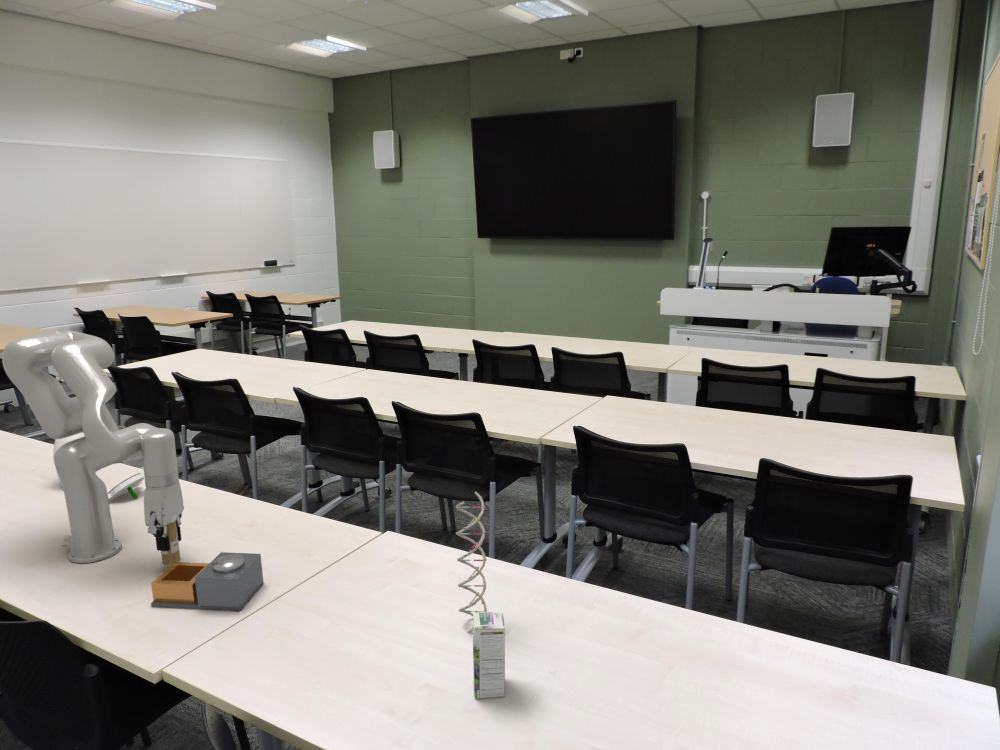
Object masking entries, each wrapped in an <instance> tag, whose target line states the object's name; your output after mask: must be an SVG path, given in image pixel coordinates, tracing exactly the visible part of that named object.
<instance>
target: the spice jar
mask: <svg viewBox="0 0 1000 750" xmlns="http://www.w3.org/2000/svg"><path fill="white" fill-rule="evenodd" d="M176 519H177V517H176V514H175V515H174V516H173V518H172V521H171V522H170V523H168V524H167V536H169V544H170V550H169V551H160V554H161V555H160V556H161V565H163V566H165V567H170V566H171V565H172V564H173V563H175V562H182V561H181V560H182V559H181V553H180V541H178V533H177V525H176ZM158 524H160V523H158ZM158 530H161V531H162V527H159V528H158Z"/></svg>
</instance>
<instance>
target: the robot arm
mask: <svg viewBox="0 0 1000 750" xmlns="http://www.w3.org/2000/svg"><path fill="white" fill-rule="evenodd" d="M1 361H2V366H3V370H4V372H5V374H6V376H7V378H8V379H9V380H10V381H11V382H12V384H13V385H14V386H15V387H16V388H17V389H18V390H19V391H20V393H21V395H22V396H23V397H24V399H25V400H26V403H27V404H28V406H29V408H30V409H31V411H32V413H33V415H34V417H35V419H36V421H38V424H39V425H40V427H41V429H42V430H43V432H44V434H46V436H47V437H49V438H50V439H52V440H55V439H63V438H66V437H70V436H73V435H76V434H79V433H82V432H83V433H84V437H81V438H78V439H75V440H73V441H70V442H68V443H66V444H64V445H62V446H61V447H60V448H59V449H58V450H57V451H56V453H55V455H54V458H53V464H54V467H55V470H56V469H57V471H56V473H57V472H58V474H59V476H60V479H61V482H62V485H63V488H62V489H63V493H64V499H65V503H66V504H65V505H66V511H67V516H68V522H69V527H70V533H71V534H70V535H69V534H68V535H64V536H63V538H62V541H61V544H60V545H61V547H69V549H70V550H69V551H68V553H67V557H68V560H69V561H70V562H72V563H75V564H76V563H77V564H89V563H94V562H99V561H102V560H105V559H108V558H110V557H112V556H115V555H116V554H117V553H118V552H120V551H121V549H122V548H123V542H122V541H121V540H120V539H118V538H116V537H115V533H114V527H113V521H112V520H113V519H112V515H111V514H112V513H111V508H110V502H109V500H108V494H107V493H108V490H107V489H108V488H107V485H106V484H105V482H104V481H103V480H102V478H100V477H99V476H98V475H97V473H96V472H99V471H100V470H102V469H104V468H107V467H109V466H112V465H113V464H115V465H116V464H121V463H124V462H126V461H128V460H130V459H133V458H135V457H137V456H142V465H143V466H142V467H143V468H142V469H143V475H144V476H143V477H144V483H145V488H144V495H143V513H144V514H143V515H144V523H145V526H146V527H147V531H146V532H147V533H148V534H151V535H152V536H153V538H155V543H156V544H155V545H156V550H157V551H159V552H161V551H169V550H170V544H169V536H167V524H168V523H170V522H171V521H172V518H173V516H174V515H175V514H176V517H177V519H176V525H177V533H178V541H179V542H181V541H182V534H181V533H182V532H181V525H182V521H181V519H182V516H183V512H184V510H185V506H184V497H183V492H182V487H181V484H180V478H179V477H180V476H179V470H178V469H179V467H178V461H177V460H178V458H177V451H176V441H175V434H174V432H173V430H171V429H169V428H164V427H163V428H162V427H160V428H159V427H157V426H154V425H152V424H149V423H145V422H141V423H135V424H133V425H130V426H128V427H125V428H121V429H120V428H119V427H118V426H117V424H116V421H115V420H114V418H113V416H112V414H111V413H110V410H109V408H108V407H107V405H106V403H108V401H110V400H111V399H112V398H113V396H115V394H116V391H117V386H116V385H115V383H114V382H113V381H112V379H111V378H110V377H109V375H107V373H106V372H105V371H104V369H107V368H109V367H111V365H112V364H113V363H114V361H115V353H114V350H113V348H112V347H111V344H109V343H108V341H106V340H105V339H103V338H101V337H98V336H95V335H92V334H87V333H83V332H79V331H75V330H71V329H61V330H55V331H51V332H50V331H49V332H44V333H38V334H32V335H27V336H23V337H19V338H17V339H14V340H12V341H11V342H9V343H7V344H6V345H5V347H4V348H3V350H2V356H1ZM52 366H53V368H54V370H55V371H56V372H57V373H58V374H59V376H60V377H61V378H62V380H63V381H64V382H65V384H66V385H67V386H68V388H69V389H70V390H71V392H72V393H73V394H74V395H75V396H73V397H70V396H69V395H68V394H67V393H66V391H65V389H64V388H63V385H62V384H61V383H60V381H59V380H58V379H56V378H55V377H54V376H53V375H51V374H50V373H47V372H45V371H44V370H43V369H42V368H47V367H52ZM158 523H160V524H158ZM159 527H162V531H161V530H158V528H159Z"/></svg>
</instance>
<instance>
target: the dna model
mask: <svg viewBox="0 0 1000 750" xmlns="http://www.w3.org/2000/svg"><path fill="white" fill-rule="evenodd" d="M474 494H475V495H476V497H477V498H478V500H479V502H480V504H481V506H472V509H481V510H480V513H479V514H478V516H475V515H474V514H472V513H471V512H469V511H467V510H465V509H470V506H463V505H465V501H462V502H460V503H458V504H456V506H455V509H456V511H459V512H461V513H463V514H465V515H468V516H469V517H471V518H472V520H471V521H470V522H469V523H468V524H467V525H466V526H463V528H462V529H460V530H459V531H457V532H456V531H455V534H456V536H458V537H460V538H462V539H465V540H466V541H469V542H471V543H472V544H473V546H472V547H471V549H470V550H469V551H468V552H467V553H466V554H464V555H461V556H460V557H458V558H457V560H456V561H457V562H459V563H461V564H463V565H467V566H469V567H471V568H472V569H474V571H473V573H472V574H471V575H470V576H469V577H468V578H467V579H466V580H464V581H462V582H460V583H458V584H457V587H458V588H461V589H464V590H467V591H468V592H471V593H473V594H475V596H474V597H473V598H472V600H471V601H470V602H469V604H468V605H466V606H464V607H461V608H459V609H458V611H459V612H461V613H464V614H466V615H470V616H471V617H473V614H474V613H478V612H488V611H487V610H488V609H487V604H486V601H485V600H484V598H483V595H484V594H485V592H486V589H487V582H486V578H485V575H484V574H483V572H482V571H483V569H484V568H485V566H486V562H487V560H488V559H487V558H486V553H485V551H484V549H483V548H482V547H481V546H482V545H483V542H484V540H485V537H486V536H485V535H486V529H485V527H484V525H483V524H482V522H481V521H480V519H481V518H482V516H483V514H484V511H485V508H486V507H487V505H485V503H484V502H485V501H484V500H483V497H482V496H481V495H480V494H479V492H477V491H474ZM477 523H478V525H479V526H480V528H479V529H481V532H482V533H480V532H478V533H475V532H474V533H467V532H465V531H467V530H469V529H470V528H472V527H474V526H475V524H477ZM464 532H465V533H464ZM469 535H473V536H475V535H476V536H477V535H480V536H481V537H480V539H479V541H475V540H474V539H472V538H471V537H468V536H469ZM477 550H479V551H480V553H481V556H482V559H473V562H482V565H481V567H480V566H475V565H474V564H472V563H471V562H472V559H465V558H467V557H469V556H470V555H473V553H475V552H476V551H477ZM479 575H480V577H481V578H482V583H483V584H481V585H480V584H477V585H471V584H467V583H469V582H471V581H473V580H474V579H475V578H477V577H478V576H479ZM466 584H467V585H466ZM471 587H481V588H482V591H481V593H480V591H478V592H477V591H476V590H474V589H473V588H471ZM477 597H478V598H477ZM480 600H481V604H482V605H483V608H484V610H467V609H469V608H471V607H473V606H475V605H477V603H478V602H479V601H480ZM467 633H468V634H470V633H473V627H472V628H471V629H469V630H468V631H467Z"/></svg>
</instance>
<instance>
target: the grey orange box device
mask: <svg viewBox="0 0 1000 750" xmlns="http://www.w3.org/2000/svg"><path fill="white" fill-rule="evenodd" d="M262 566H263V563H262V556H261V553H250V552H249V553H247V552H246V553H245V552H224V551H223V552H222V551H221V552H220V553H219V554H217V555H216V556H215V557H214V558H213V560H211V561H210V562H191V561H190V562H188V561H180V562H175V563H173V564H172V565H171V566H168V567H167V569H165V570H164V571H163V572H162V573H161V574H159V575H158V576H157V577H156V578H155V579H154V580H153V581H151V583H150V588H151V593H152V599H153V601H151V602H150V606H151V608H162V609H163V608H164V609H165V608H166V609H183V610H184V609H186V610H204V611H209V610H210V611H222V612H223V611H225V612H226V611H229V612H241V611H242V610H243V609H244V608H245V607H246V605H248V604H249V602H251V600H250V599H252V598H253V597H254V596H255V595H256V594H257V592H258V591H260V589H261V588H262V587H263V586H264V584H265V583H264V574H263V567H262ZM260 587H261V588H260ZM255 593H256V594H255ZM254 594H255V595H254Z"/></svg>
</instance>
